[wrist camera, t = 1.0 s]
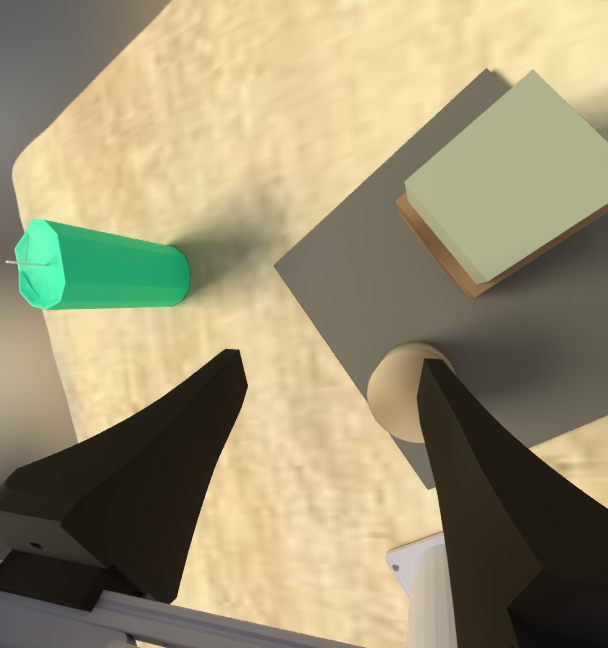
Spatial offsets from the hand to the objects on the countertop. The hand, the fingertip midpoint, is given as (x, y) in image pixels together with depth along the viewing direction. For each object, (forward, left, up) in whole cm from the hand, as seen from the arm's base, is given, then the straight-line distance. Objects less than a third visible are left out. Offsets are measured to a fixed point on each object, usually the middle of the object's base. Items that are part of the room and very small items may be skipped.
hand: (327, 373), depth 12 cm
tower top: (+2, -10, -7) cm, 13 cm away
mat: (-1, -6, -11) cm, 12 cm away
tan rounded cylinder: (-4, -1, -10) cm, 11 cm away
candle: (+16, +13, -11) cm, 24 cm away
